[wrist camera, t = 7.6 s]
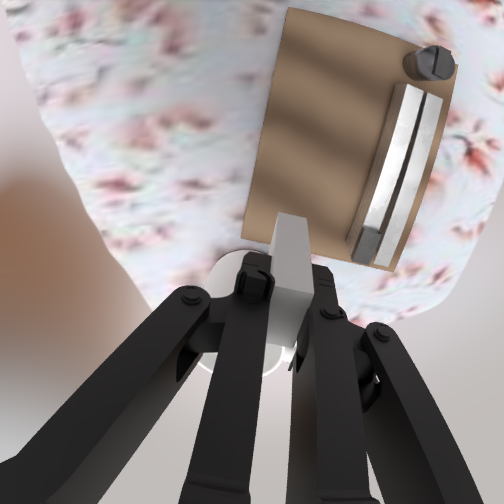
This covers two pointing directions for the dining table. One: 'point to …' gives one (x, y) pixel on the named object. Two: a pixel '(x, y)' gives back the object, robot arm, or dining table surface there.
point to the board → (330, 129)
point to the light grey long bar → (384, 173)
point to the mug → (223, 285)
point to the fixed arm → (414, 146)
